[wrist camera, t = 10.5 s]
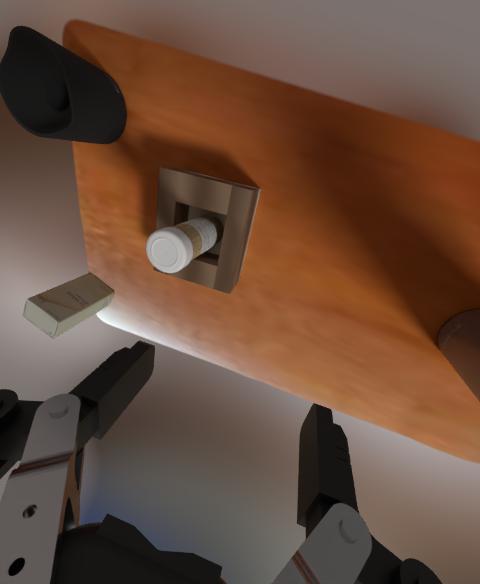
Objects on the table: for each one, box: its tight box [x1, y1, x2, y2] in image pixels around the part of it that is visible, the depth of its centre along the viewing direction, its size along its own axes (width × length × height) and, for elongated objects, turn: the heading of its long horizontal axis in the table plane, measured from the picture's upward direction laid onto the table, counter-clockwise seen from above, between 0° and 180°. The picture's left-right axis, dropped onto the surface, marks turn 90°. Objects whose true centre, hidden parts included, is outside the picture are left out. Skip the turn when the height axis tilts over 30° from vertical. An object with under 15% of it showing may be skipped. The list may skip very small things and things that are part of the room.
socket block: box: [154, 167, 261, 294], centre depth 35 cm, size 12×14×6 cm
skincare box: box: [23, 273, 115, 339], centre depth 44 cm, size 6×4×12 cm
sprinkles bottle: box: [146, 215, 224, 273], centre depth 31 cm, size 5×5×13 cm
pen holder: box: [0, 26, 127, 144], centre depth 31 cm, size 9×9×10 cm
